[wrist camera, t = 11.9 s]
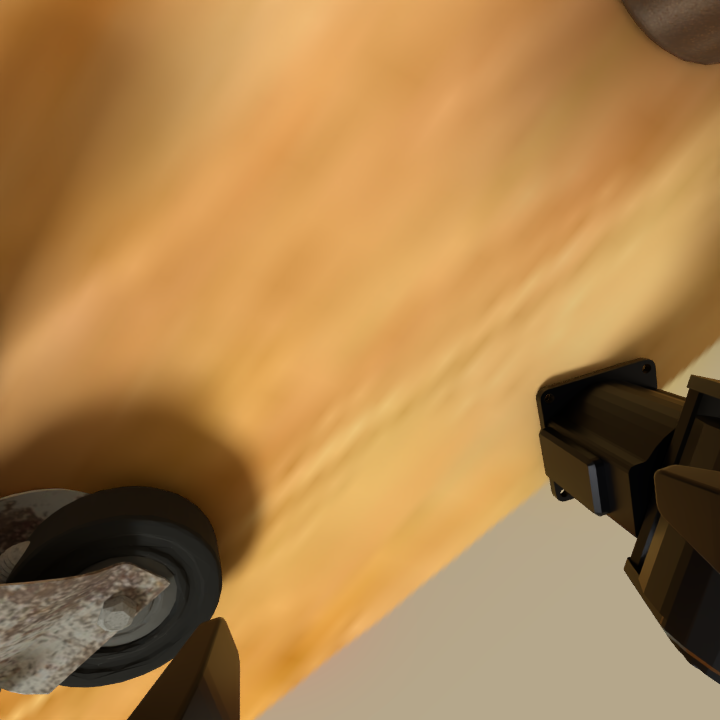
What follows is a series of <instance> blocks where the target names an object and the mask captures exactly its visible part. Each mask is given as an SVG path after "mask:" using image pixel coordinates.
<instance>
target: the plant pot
mask: <svg viewBox="0 0 720 720" xmlns="http://www.w3.org/2000/svg"><path fill="white" fill-rule="evenodd" d="M621 1H622V2H623V4H624V6H625V7H626V9H627V10H628V12H629V13H630V15H631V16H632V18H633V19H634V20H635V22H636V23H637V25H638V26H639V27H640V28H641V29H642V30H643V32H644V33H645V34H646V35H647V36H648V37H649V38H650V39H651V40H652V41H654V42H655V43H656V44H658V45H659V46H660V47H661V48H663V49H664V50H666V51H668V52H669V53H671V54H673V55H674V56H676V57H678V58H680V59H682V60H684V61H689V62H694V63H699V64H704V65H707V64H715V63H720V0H621Z"/></svg>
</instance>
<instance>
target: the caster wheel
mask: <svg viewBox="0 0 720 720" xmlns="http://www.w3.org/2000/svg"><path fill="white" fill-rule="evenodd" d="M221 590H222V573H221V565H220V558H219V552H218V546H217V540H216V536H215V533H214V530H213V528H212V526H211V524H210V522H209V520H208V518H207V517H206V516H205V515H204V514H203V512H202V511H201V510H200V509H199V508H198V507H197V506H196V505H194V504H193V503H191V502H190V501H189V500H187V499H185V498H183V497H181V496H179V495H177V494H175V493H172V492H169V491H165V490H161V489H157V488H152V487H141V486H130V487H119V488H114V489H108V490H102V491H99V492H96V493H93V494H89V493H84V492H80V491H75V490H69V489H63V488H54V489H40V490H32V491H27V492H22V493H17V494H13V495H9V496H6V497H2V498H0V691H1V688H2V689H5V690H8V691H10V692H15V693H19V694H49V693H50V692H52V691H53V690H54V689H55V688H56V687H57V686H58V685H62V686H68V687H97V686H104V685H110V684H115V683H120V682H124V681H127V680H130V679H133V678H135V677H138V676H141V675H144V674H146V673H148V672H150V671H152V670H154V669H156V668H158V667H160V666H162V665H164V664H165V663H167V662H168V661H170V660H172V659H173V658H174V657H175V656H176V655H177V653H178V652H179V651H180V649H181V648H182V647H183V645H184V644H185V643H186V641H187V640H188V639H189V637H190V636H191V635H192V634H193V632H194V631H195V630H196V628H197V627H198V626H199V625H200V624H201V623H203V622H206V621H209V620H210V619H211V617H212V615H213V614H214V612H215V609H216V607H217V605H218V602H219V598H220V594H221Z"/></svg>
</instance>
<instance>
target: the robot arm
mask: <svg viewBox="0 0 720 720" xmlns="http://www.w3.org/2000/svg"><path fill="white" fill-rule="evenodd" d="M644 365H645V369H644V370H643V371H642V368H643V366H644ZM687 388H689V391H688V394H687V397H686V398H685V397H682V396H679V395H676V394H673V393H670V392H667V391H663V390H660V389H657V379H656V368H655V363H654V362H653V361H652V360H650V359H646V358H638V359H635V360H632V361H629V362H625V363H622V364H619V365H616V366H612V367H609V368H606V369H602V370H599V371H596V372H593V373H589V374H586V375H583V376H580V377H576V378H573V379H570V380H566V381H563V382H560V383H557V384H553V385H550V386H547V387H544V388H542V389H540V390H539V391H538V393H537V395H536V401H537V407H538V413H539V419H540V425H541V430H540V433H539V438H540V444H541V449H542V455H543V461H544V467H545V473H546V475H547V476H548V477H549V479H550V485H551V491H552V494H553V495H554V496H555V497H556V498H557V499H558V500H560V501H567V500H570V499H573V498H575V499H577V500H578V501H579V502H580V503H582V504H583V505H584V506H585V507H587V508H588V509H589V510H590V511H592V512H593V513H595V514H596V515H598V516H602V515H608V516H609V517H610V518H612V519H613V520H614V521H615V522H617V523H618V524H619V525H621V526H622V527H623V528H624V529H626V530H627V531H628V532H630V533H631V534H632V535H633V536H635V537H636V538H637V541H636V543H635V547H634V549H633V552H632V555H631V557H628V558H627V561H626V563H625V566H624V571H625V572H626V574H627V576H628V577H629V579H630V580H631V582H632V583H633V585H634V586H635V588H636V589H637V591H638V592H639V594H640V595H641V597H642V598H643V600H644V601H645V603H646V604H647V606H648V607H649V609H650V610H651V612H652V613H653V615H654V616H655V618H656V619H657V621H658V622H659V624H660V625H661V627H662V628H663V630H664V631H665V633H666V634H667V636H668V637H669V639H670V640H671V642H672V643H673V644H674V645H675V647H676V648H677V649H678V651H680V653H682V654H683V655H684V657H685V658H686V660H687V661H688V662H689V663H690V664H692V665H693V666H694V667H696V668H698V669H700V670H701V671H702V672H703V673H704V674H706V675H707V676H709V677H710V678H712V679H713V680H714V681H716V682H717V683H719V684H720V380H715V379H710V378H706V377H701V376H696V375H691V376H690V379H689V382H688V385H687ZM548 394H549V395H550V397H549V399H548V400H547V401H545V397H546V395H548ZM563 489H564V491H563V492H562V493H560V492H561V490H563ZM127 720H240V661H239V654H238V650H237V648H236V645H235V643H234V640H233V638H232V635H231V633H230V630H229V628H228V625H227V623H226V621H225V620H224V618H222V617H218V618H215V619H212V620H209V621H206V622H203V623H201V624H200V625H199V626H198V627H197V628H196V630H195V631H194V632H193V634H192V635H191V636H190V637H189V639H188V640H187V641H186V643H185V644H184V645H183V647H182V648H181V649H180V651H179V652H178V653H177V655H176V656H175V657H174V659H173V660H172V661H171V663H170V664H169V665H168V666H167V668H166V669H165V670H164V672H163V673H162V674H161V676H160V677H159V678H158V680H157V681H156V682H155V684H154V685H153V686H152V688H151V689H150V690H149V691H148V693H147V694H146V695H145V697H144V698H143V699H142V701H141V702H140V703H139V705H138V706H137V707H136V709H135V710H134V711H133V713H132V714H131V715H130V717H129V718H128V719H127Z"/></svg>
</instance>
